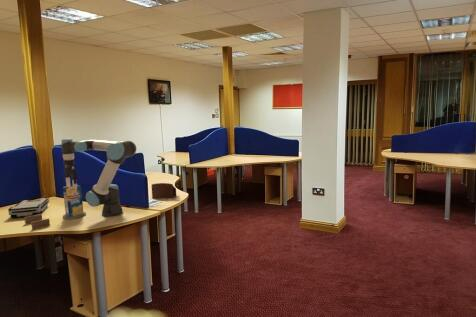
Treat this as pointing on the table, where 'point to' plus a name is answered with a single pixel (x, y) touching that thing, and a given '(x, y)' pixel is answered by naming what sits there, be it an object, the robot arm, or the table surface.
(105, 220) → the table surface
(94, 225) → the table surface
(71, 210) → the beverage box
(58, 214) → the table surface
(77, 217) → the slate coaster
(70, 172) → the robot arm
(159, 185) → the letter holder
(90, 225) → the table surface
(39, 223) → the walnut slot
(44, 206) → the office tray
